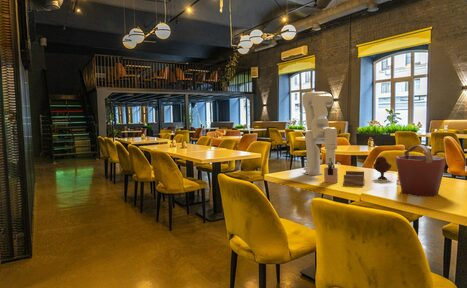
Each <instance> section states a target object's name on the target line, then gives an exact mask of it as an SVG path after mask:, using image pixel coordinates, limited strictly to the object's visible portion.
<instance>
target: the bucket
mask: <svg viewBox="0 0 467 288" xmlns="http://www.w3.org/2000/svg"><path fill="white" fill-rule="evenodd" d="M417 148H420V149H421V150H422V152H424V153H423V154H424V155H415V154H414V155H413V154H412V155H411V154H410V153H411V152H413V151H415V150H416V149H417ZM403 154H404V155H400V156H399V155H396V156H395V164H396V170H397V175H398V180H399V185H400V190H401V193H402V194H403V195H408V196H413V197H435V196H436V195H439V192H440V187H441V184H442V183H441V182H442V180H443V175H444V172H445V167H446V157H441V156H436V155H435V156H434V155H433V154H432V151H431V150H430V149H429V148H428V146H426V145H424V144H415V145H411V146H410V147H408V149H406V150H405V151H404V152H403Z"/></svg>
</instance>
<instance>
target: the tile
mask: <svg viewBox="0 0 467 288" xmlns="http://www.w3.org/2000/svg"><path fill="white" fill-rule="evenodd" d="M323 172H324V173H323V181H324V183H338V181H339V176H338V175H339V169H338V167H335V168H333V175H328V166H327V167H324V169H323Z"/></svg>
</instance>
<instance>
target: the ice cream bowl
mask: <svg viewBox="0 0 467 288" xmlns="http://www.w3.org/2000/svg"><path fill="white" fill-rule="evenodd" d="M373 168H374V170H375V171H377V172H378V173H380V176H378V177H377V180H387V179H388V178H387V177H386V176H385V173H387V172H388V171H389V170H391V168H392V163H391V164H390V163H389V162H388V160H387V158H386V157H385V156H382V155H379V156H377V157H376V158H375V162H374V163H373Z"/></svg>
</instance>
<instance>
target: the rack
mask: <svg viewBox="0 0 467 288" xmlns="http://www.w3.org/2000/svg"><path fill="white" fill-rule="evenodd" d="M365 184H366V179H365V171H363V170H362V171H360V170H359V171H356V170H346V171H345V174H343V183H342V185H343V186H359V187H365Z"/></svg>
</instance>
